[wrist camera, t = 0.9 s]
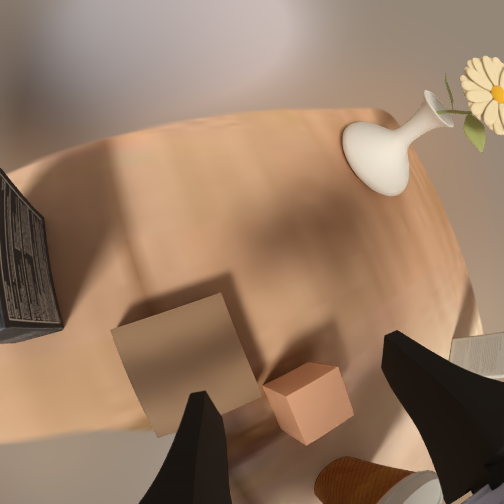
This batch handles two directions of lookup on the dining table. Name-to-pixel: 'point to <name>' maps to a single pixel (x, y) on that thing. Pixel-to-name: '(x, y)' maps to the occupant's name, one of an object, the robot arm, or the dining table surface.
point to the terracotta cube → (309, 401)
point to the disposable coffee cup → (375, 484)
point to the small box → (24, 270)
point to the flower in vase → (425, 128)
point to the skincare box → (480, 354)
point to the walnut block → (185, 361)
